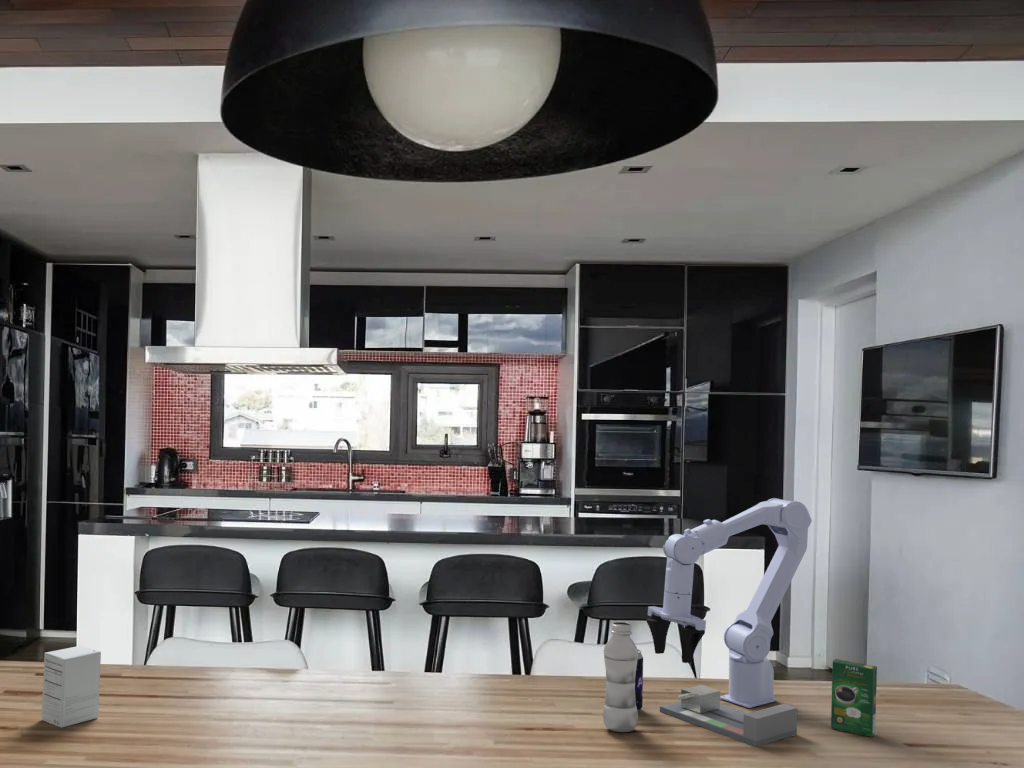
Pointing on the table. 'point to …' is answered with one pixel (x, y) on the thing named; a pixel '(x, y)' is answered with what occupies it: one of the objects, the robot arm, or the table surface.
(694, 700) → the slider block with tab
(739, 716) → the gauge board
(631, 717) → the plastic bottle
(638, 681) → the beverage can
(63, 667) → the supplement box
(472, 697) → the table surface
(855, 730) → the coffee box
